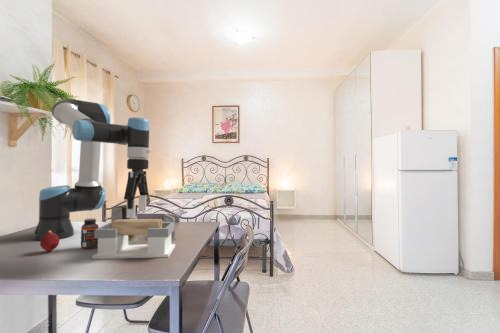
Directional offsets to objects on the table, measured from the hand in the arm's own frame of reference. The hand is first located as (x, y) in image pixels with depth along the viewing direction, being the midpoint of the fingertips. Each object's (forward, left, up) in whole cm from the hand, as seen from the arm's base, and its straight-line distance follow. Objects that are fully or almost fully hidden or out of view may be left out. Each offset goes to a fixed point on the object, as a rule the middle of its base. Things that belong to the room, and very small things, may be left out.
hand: (136, 214), depth 104 cm
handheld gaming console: (-21, +4, -15) cm, 26 cm away
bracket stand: (0, 0, -14) cm, 14 cm away
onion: (-3, -33, -14) cm, 36 cm away
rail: (0, 0, -7) cm, 7 cm away
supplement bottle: (-8, -21, -14) cm, 26 cm away
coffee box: (-12, -9, -14) cm, 21 cm away
